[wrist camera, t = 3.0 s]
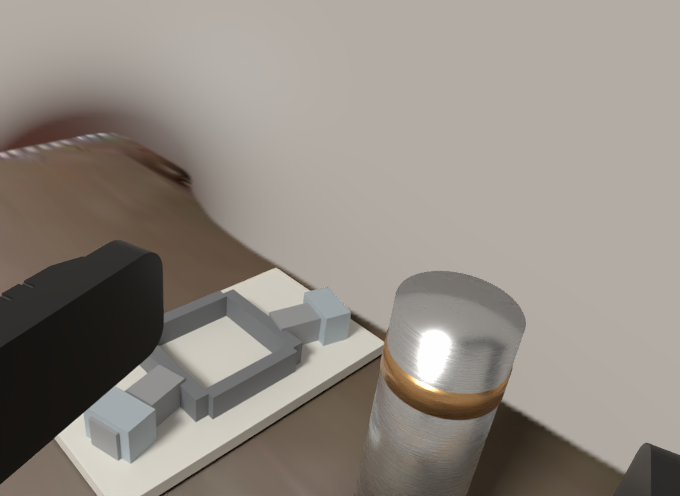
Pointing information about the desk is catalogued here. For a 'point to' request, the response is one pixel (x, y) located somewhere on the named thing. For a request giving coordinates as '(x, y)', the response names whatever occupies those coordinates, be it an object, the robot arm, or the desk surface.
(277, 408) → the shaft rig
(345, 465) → the desk surface
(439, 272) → the cylinder
